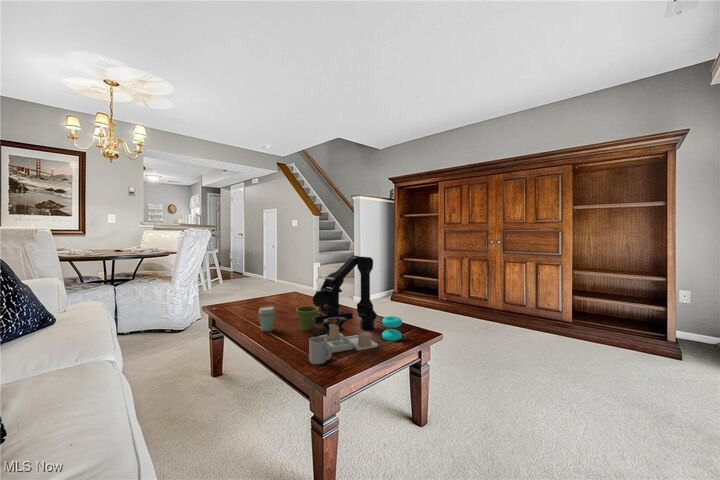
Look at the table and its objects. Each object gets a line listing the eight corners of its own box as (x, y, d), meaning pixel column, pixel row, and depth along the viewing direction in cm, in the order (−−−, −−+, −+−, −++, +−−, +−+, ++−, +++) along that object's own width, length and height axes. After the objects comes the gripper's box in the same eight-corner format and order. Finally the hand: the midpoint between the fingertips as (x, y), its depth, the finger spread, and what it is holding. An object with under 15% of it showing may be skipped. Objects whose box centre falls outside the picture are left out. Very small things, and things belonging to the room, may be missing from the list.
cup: (315, 356, 131) (315, 335, 130) (335, 360, 127) (336, 339, 126) (305, 362, 124) (305, 341, 124) (326, 367, 120) (326, 345, 120)
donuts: (390, 314, 160) (406, 318, 153) (389, 333, 160) (405, 338, 154) (378, 318, 153) (394, 322, 146) (377, 338, 153) (393, 343, 146)
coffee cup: (277, 328, 166) (277, 306, 166) (271, 333, 158) (271, 310, 157) (262, 327, 167) (262, 305, 167) (255, 332, 159) (255, 309, 158)
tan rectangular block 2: (365, 343, 145) (366, 331, 144) (371, 346, 141) (371, 334, 141) (358, 345, 142) (358, 333, 142) (363, 348, 138) (363, 336, 138)
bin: (340, 338, 152) (340, 332, 151) (353, 350, 138) (353, 343, 137) (318, 342, 147) (319, 335, 147) (330, 354, 133) (330, 347, 133)
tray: (363, 336, 155) (363, 334, 155) (378, 347, 141) (378, 345, 141) (343, 339, 150) (343, 337, 150) (357, 351, 136) (357, 348, 136)
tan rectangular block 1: (335, 334, 149) (335, 323, 148) (338, 337, 145) (338, 326, 144) (326, 336, 147) (326, 324, 146) (329, 339, 143) (329, 327, 142)
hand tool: (316, 339, 151) (316, 330, 151) (311, 337, 153) (311, 328, 153) (343, 330, 165) (343, 321, 165) (338, 328, 167) (338, 320, 167)
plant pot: (291, 331, 162) (291, 310, 161) (303, 324, 173) (303, 305, 172) (310, 334, 157) (311, 312, 157) (322, 327, 168) (322, 307, 168)
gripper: (344, 297, 156) (344, 327, 157) (308, 300, 148) (308, 332, 149) (353, 301, 146) (353, 334, 147) (315, 305, 138) (315, 339, 139)
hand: (332, 334), depth 146 cm, fingers closed on tan rectangular block 1, 4 cm apart
